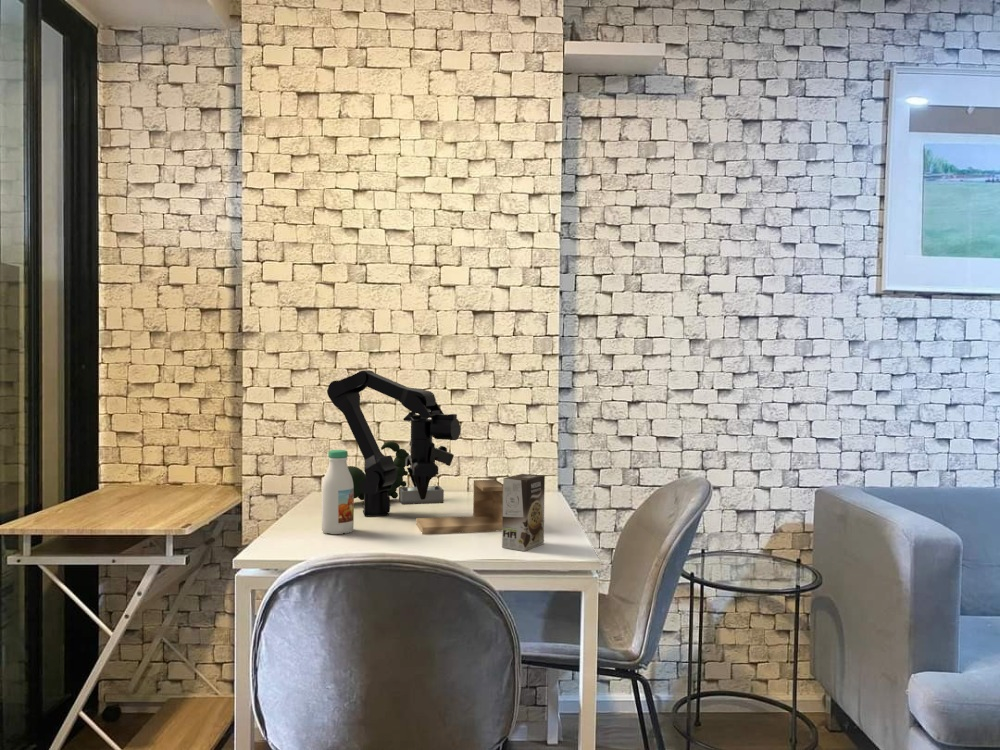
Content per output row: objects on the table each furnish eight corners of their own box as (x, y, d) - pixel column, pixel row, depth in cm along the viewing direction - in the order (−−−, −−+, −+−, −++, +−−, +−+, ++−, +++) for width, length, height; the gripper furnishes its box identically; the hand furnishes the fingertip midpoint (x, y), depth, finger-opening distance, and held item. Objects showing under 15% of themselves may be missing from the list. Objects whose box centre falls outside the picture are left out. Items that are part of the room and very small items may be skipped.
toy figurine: (396, 502, 241) (316, 502, 228) (401, 440, 241) (323, 436, 229) (409, 507, 233) (327, 507, 220) (414, 443, 233) (333, 440, 220)
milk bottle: (326, 536, 189) (326, 453, 188) (318, 529, 195) (318, 449, 195) (357, 533, 192) (358, 451, 192) (348, 526, 199) (348, 448, 198)
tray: (401, 504, 205) (401, 490, 204) (398, 500, 211) (398, 486, 211) (443, 503, 207) (443, 488, 207) (439, 498, 214) (439, 484, 213)
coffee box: (525, 552, 176) (526, 480, 175) (501, 547, 179) (501, 477, 179) (545, 543, 184) (546, 474, 183) (521, 540, 187) (522, 472, 187)
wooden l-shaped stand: (422, 534, 192) (422, 489, 192) (416, 524, 202) (416, 481, 202) (505, 530, 197) (506, 486, 197) (495, 521, 208) (495, 479, 207)
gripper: (458, 441, 202) (457, 502, 202) (445, 434, 220) (444, 490, 220) (414, 442, 199) (414, 503, 199) (405, 434, 217) (404, 491, 217)
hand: (421, 496), depth 209 cm, fingers closed on tray, 6 cm apart
